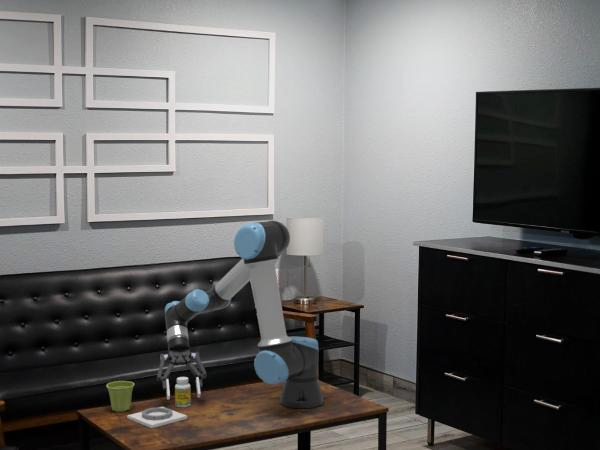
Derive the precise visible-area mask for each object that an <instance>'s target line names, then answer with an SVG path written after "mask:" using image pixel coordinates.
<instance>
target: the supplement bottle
mask: <svg viewBox="0 0 600 450" xmlns="http://www.w3.org/2000/svg"><path fill="white" fill-rule="evenodd" d="M174 401H175V403H174V404H175V407H177V408H188V407H190V406H191V404H192V397H191V384H190V383H189V377H187V376H179V377H177V378H176V384H175V386H174Z"/></svg>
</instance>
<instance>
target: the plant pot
mask: <svg viewBox="0 0 600 450" xmlns="http://www.w3.org/2000/svg"><path fill="white" fill-rule="evenodd" d="M134 386H135V383H134V382H133V381H130V380H129V381H127V380H118V381H112V382H108V383H107V384H106V388H107V391H108V395H109V400H110V404H111V405H110V406H111V410H112V411H113V412H114V411H115V412H116V413H117V412H118V413H119V412H120V413H121V412H126V411H127V410H128V411H129V410H131V405H132V394H133V389H134Z"/></svg>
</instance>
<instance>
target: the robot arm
mask: <svg viewBox="0 0 600 450" xmlns="http://www.w3.org/2000/svg"><path fill="white" fill-rule="evenodd" d="M290 241H291V236H290V231H289V229H288V228H287V226H286V225H284V224H283V223H282V222H279V221H277V220H268V221H267V220H266V221H260V222H258V221H256V222H251V223H247V224H243V225H242V226H241V227H240V228H239V229H238V230H237V231H236V233H235V235H234V240H233V245H234V250H235V253H236V254H237V255H238V256H239V257H240V258H241V259H240V260H239V261H238V262H237V263H236V264H235V265H234V266H233V267H232V268H231V269H230V270H229V271H227V273H226V274H225V275H224V276H223V277H222V278H221V279H220V280H219V281H218V282H217V283H216V284H214V286H213V287H212V288H211V289H209V290H206V291H204V290H203V289H199V288H195V289H194V290H192V291H191V292H189V293H188V294H187V295H185V297H184V298H183V299H181V300H179V301H178V300H173V301H171V302H169V303H167V304H166V305H165V307H164V318H165V319H164V320H165V329H166V330H165V331H166V337H167V350H168V353H166V354H164V353H160V356H159V360H160V363H159V368H158V371H157V376H156V381H157V382H161V383H162V390H163V391H166V400H168V401H169V400H170V398H171V394H170V393H171V391H170V382H169V376H170V374H171V372H172V371H173V369H174V367H175V366H186V367H187V368H188V370H189V371H190V372H191V373H192V374H193V376H194V377H195V387H196V396H197V398H201V389H202V388H203V379H206V378H207V371H206V369H205V367H204V365H203V362H202V360H201V358H200V352H199V351H195V352H192V351H191V349H190V343H189V342H190V340H189V333H188V330H189V329H188V322H191V320H192V319H194V318H195V317H196V316H197V315H200V314H205V313H210V312H213V311H218V310H222V309H224V308H227V307H228V306H230V304H231V302H232V298H233V297H234V296H235V295H236V294H237V293H239V292H240V291H241V289H243V288H244V287H245V286H246V285H247V284H248V283H249V282H250V281H251V284H252V285H251V286H252V289H253V290H252V291H253V298H254V303H255V309H256V315H257V320H258V321H257V322H258V326H259V327H258V328H259V333H260V341H259V342H258V344H257V348H258V353H257V354H256V356H255V358H254V361H253V365H254V370H255V373H256V375H257V377H258V378H259V379H261V380H262V381H263V382H264V383H266V384H267V385H269V384H270V385H276V384H282V383H283V386H282V390H281V393H280V395H279V403H280V404H281V405H282V406H284V407H287V408H290V409H311V408H317V407H319V406H322V405H323V404H324V395H323V393H322V389H321V386H320V382H319V351H320V350H319V342H318V340H317V339H316V338H312V337H307V336H297V335H296V336H288V334H287V330H286V325H285V324H286V323H285V317H284V312H283V307H282V301H281V300H282V299H281V295H280V289H279V284H278V277H277V270H276V264H277V262H278V260H279V258H280V256H281V255H282V254H283V253H284V252H285V251H286V250H287V249H288V247H289V245H290V243H291V242H290ZM191 358H193V360H194V361H195V364H196V366H197V367H196V366H195V365H194V363H193V362H192V360H191ZM167 359H168V360H169V361H170V362H169V365H168V366H167V369H166V371H165V372H164V374H163V369H164V366H165V362H166V361H167ZM197 368H198V369H197ZM162 375H163V376H162Z"/></svg>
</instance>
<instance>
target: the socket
mask: <svg viewBox="0 0 600 450" xmlns="http://www.w3.org/2000/svg"><path fill="white" fill-rule="evenodd" d="M126 417H127V418H126V419H128V420H131V421H133V422H136V423H138V424H141V425H143V426H146V427H148V428H151V429H154V428H158V427H161V426H165V425H169V424H172V423H176V422H180V421H183V420H187V419H188V415H186V414H184V413H181V412H178V411H175V410H173V409H171V408H168V407H165V406H159V407H150V408H146V409H144V410H143V411H140V412H136V413H135V412H134V413H132V414H128V415H126Z"/></svg>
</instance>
